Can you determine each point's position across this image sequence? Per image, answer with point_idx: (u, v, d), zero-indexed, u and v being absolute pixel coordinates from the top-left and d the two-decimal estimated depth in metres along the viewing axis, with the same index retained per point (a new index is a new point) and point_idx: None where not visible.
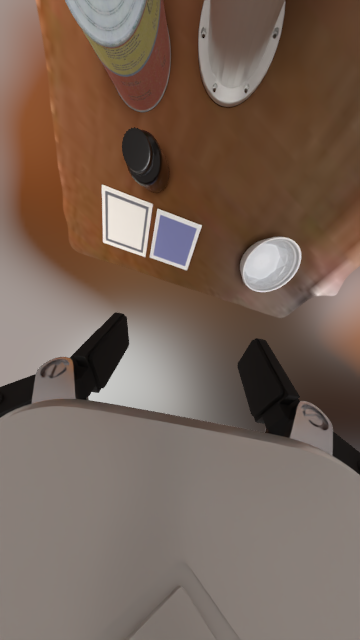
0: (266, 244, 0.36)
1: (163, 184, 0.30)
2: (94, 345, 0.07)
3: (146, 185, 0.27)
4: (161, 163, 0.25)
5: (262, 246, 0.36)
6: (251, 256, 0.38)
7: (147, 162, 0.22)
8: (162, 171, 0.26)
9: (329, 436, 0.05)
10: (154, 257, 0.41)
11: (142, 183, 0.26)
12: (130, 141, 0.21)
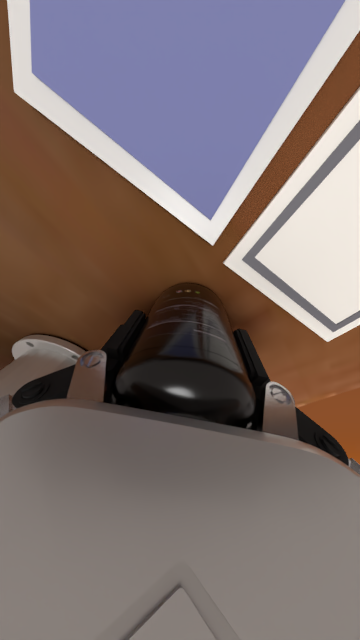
0: None
1: (162, 301, 0.09)
2: (123, 339, 0.07)
3: (205, 358, 0.05)
4: None
5: None
6: None
7: None
8: (128, 352, 0.07)
9: (293, 409, 0.06)
10: None
11: (221, 378, 0.05)
12: None
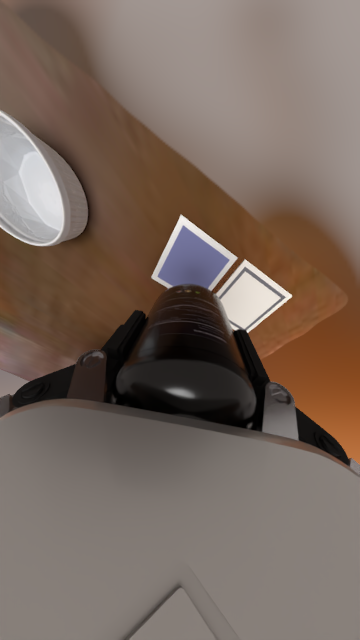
0: (60, 229, 0.25)
1: (162, 301, 0.09)
2: (123, 339, 0.07)
3: (206, 358, 0.05)
4: None
5: None
6: None
7: None
8: (128, 352, 0.07)
9: (293, 409, 0.06)
10: (229, 255, 0.24)
11: (222, 379, 0.04)
12: None
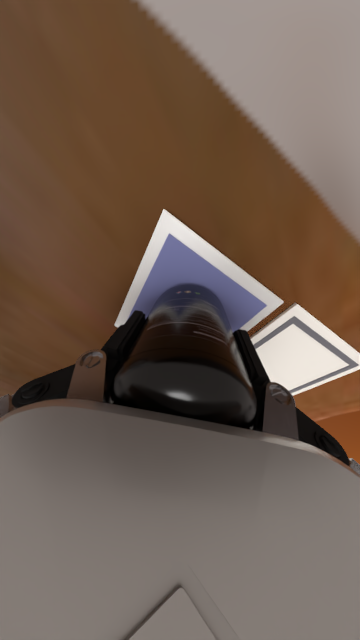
0: None
1: (162, 302, 0.09)
2: (123, 339, 0.07)
3: (205, 360, 0.05)
4: (111, 385, 0.06)
5: None
6: None
7: None
8: (126, 353, 0.07)
9: (293, 409, 0.06)
10: (268, 297, 0.12)
11: (222, 381, 0.04)
12: None
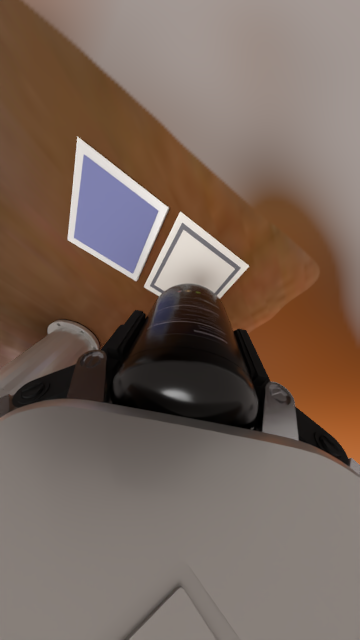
0: None
1: (162, 301, 0.09)
2: (123, 339, 0.07)
3: (206, 359, 0.05)
4: None
5: None
6: None
7: None
8: (127, 353, 0.06)
9: (293, 409, 0.06)
10: (157, 203, 0.18)
11: (223, 381, 0.04)
12: None
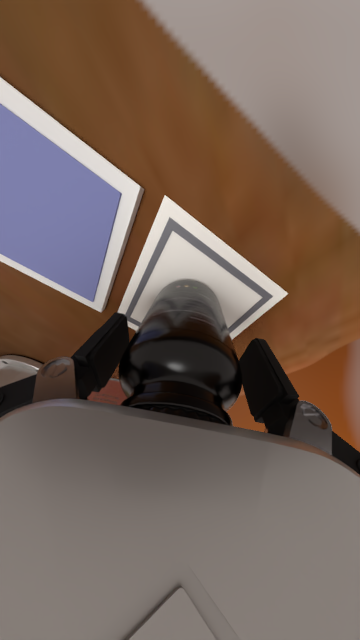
0: None
1: (163, 295, 0.10)
2: (95, 345, 0.07)
3: (199, 337, 0.06)
4: (121, 361, 0.07)
5: None
6: None
7: None
8: (133, 336, 0.08)
9: (328, 435, 0.05)
10: (118, 178, 0.09)
11: (212, 353, 0.06)
12: None
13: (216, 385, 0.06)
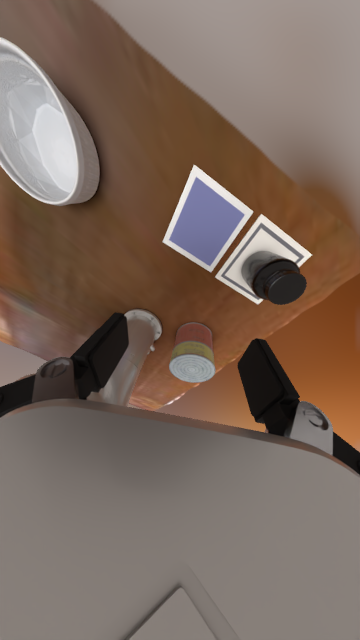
0: None
1: (258, 255, 0.25)
2: (94, 345, 0.07)
3: (288, 259, 0.20)
4: (257, 272, 0.22)
5: None
6: None
7: (281, 278, 0.18)
8: (258, 266, 0.22)
9: (329, 436, 0.05)
10: (245, 209, 0.23)
11: (293, 263, 0.20)
12: (286, 297, 0.20)
13: None
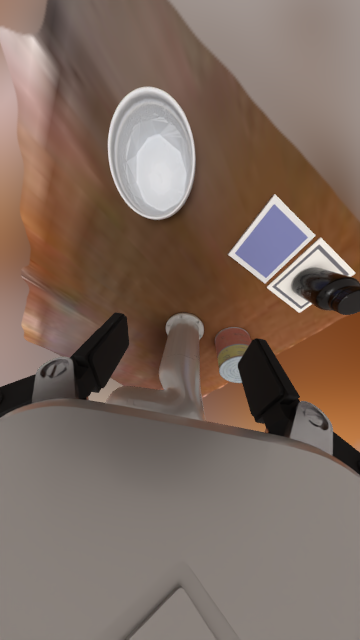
0: (157, 207, 0.28)
1: (315, 272, 0.29)
2: (94, 345, 0.07)
3: None
4: (323, 287, 0.25)
5: (161, 206, 0.27)
6: (174, 193, 0.26)
7: (354, 293, 0.22)
8: (322, 281, 0.26)
9: (329, 436, 0.05)
10: (309, 233, 0.27)
11: (357, 280, 0.24)
12: (353, 309, 0.24)
13: None
